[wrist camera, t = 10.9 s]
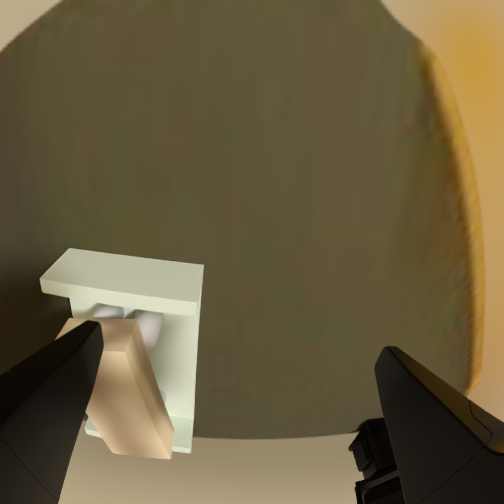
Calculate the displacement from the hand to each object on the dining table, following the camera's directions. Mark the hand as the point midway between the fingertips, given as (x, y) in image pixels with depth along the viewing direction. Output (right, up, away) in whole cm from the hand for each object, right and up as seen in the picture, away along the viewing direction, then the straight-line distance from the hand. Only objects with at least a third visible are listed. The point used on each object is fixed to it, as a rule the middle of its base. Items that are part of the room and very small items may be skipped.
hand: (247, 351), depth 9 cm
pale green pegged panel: (-9, -5, +15) cm, 18 cm away
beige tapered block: (-9, -7, +11) cm, 16 cm away
